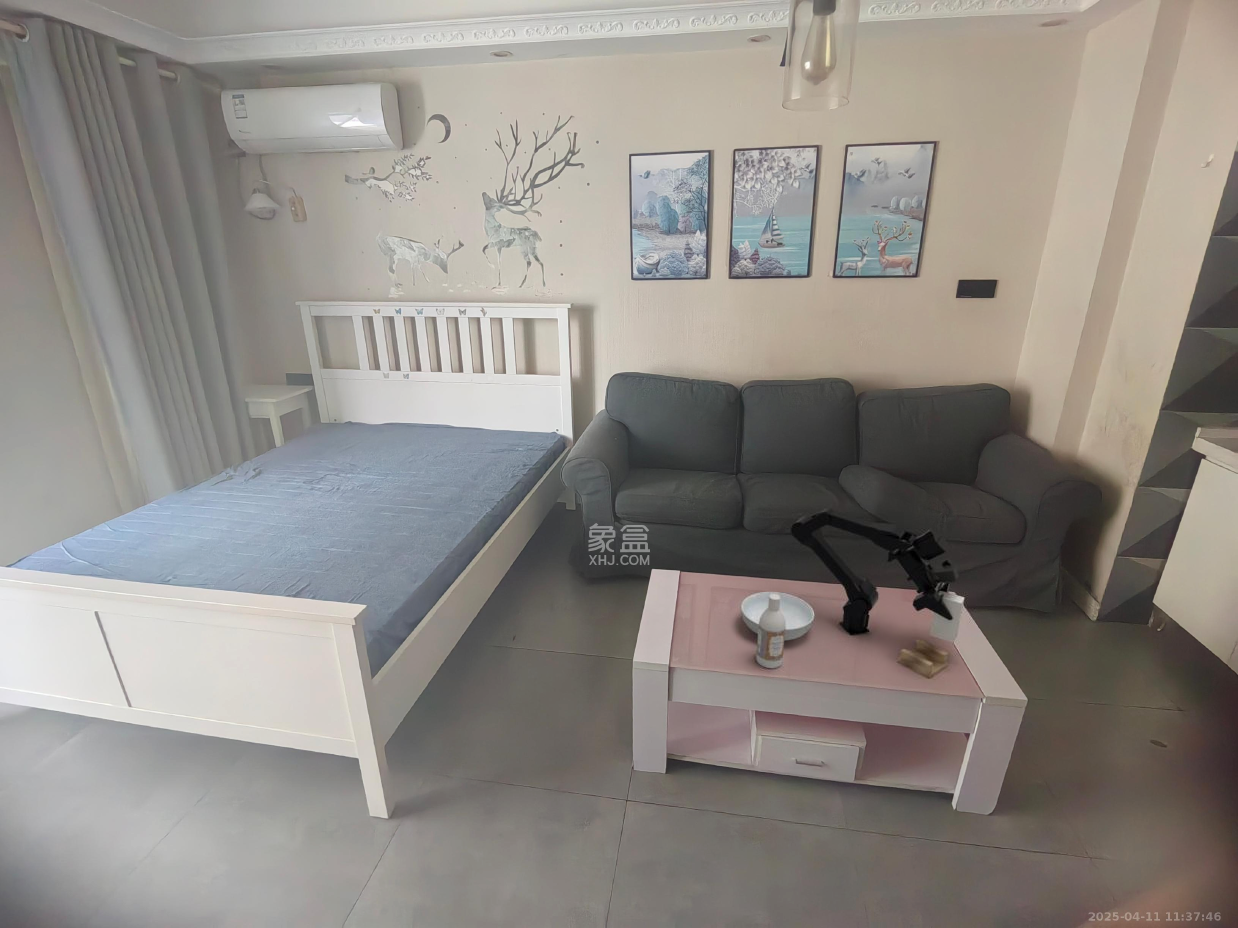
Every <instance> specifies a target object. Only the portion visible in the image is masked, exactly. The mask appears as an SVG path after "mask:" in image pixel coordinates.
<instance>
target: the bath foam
mask: <svg viewBox="0 0 1238 928" xmlns="http://www.w3.org/2000/svg"><path fill="white" fill-rule="evenodd" d="M779 608H780V596H779V595H777V594H771V595H769V603H768V608H767V609H766V610H765V611H764V612H763V614H762V615H761V617H760V621H759V630H758V634H757V643H756V657H755V658H756V662H757V663H758V664H759V666H760V665H761V666H762V667H764V668H767V669H776V668H779V667H781V665H782V664H783V658H784V649H785V641H786V640H785V629H786V622H785V618H784V616H783V614H782V612H781V611H780V609H779Z"/></svg>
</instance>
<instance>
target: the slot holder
mask: <svg viewBox="0 0 1238 928" xmlns="http://www.w3.org/2000/svg"><path fill="white" fill-rule="evenodd" d="M948 654H949V653H948V652H946V651H945V650H942V649H940V648H938V647H936V646H934V645H932V644H930V643H928V642H926V641H924V640H922V639H917V640H916V641H915V647H914V648H912V650H908V649H907V648H903V649H900V655H899V658H897V661H896V662H898V663H899V664H901V665H902V666H905V667H907V668H908V669H910V670H912V671H914V672H916V673H918V674H919V675H921V676H924V677H925V678H926V679H931V678H932V677H934V676H935V675H937V674H938V673H940V672H941V671H943V670H944V669H946V668H947V667H948V666H949V663H947V661H948V656H949V655H948Z"/></svg>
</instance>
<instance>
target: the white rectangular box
mask: <svg viewBox="0 0 1238 928" xmlns="http://www.w3.org/2000/svg"><path fill="white" fill-rule="evenodd" d="M942 594H944V598H943V602H944V604H945V605H946V607H947V609H948V610H949V612H950V614H951V615H952V617H953V619H952V620H947V619H946V618H944V617H942V616H940V615H939V614H937V613H935V612H933V615H932V621H931V626H930V631H929V636H931V637H935V638H938V639H941V640H944V641H946V642H950V643H953V644H954V643H955V642H956V640H957V636H958V631H959V627H960V622H961V617H962V613H963V612H962V611H963V608H964V602H965V597H964V596H960V595H956V594H953V593H950V592H948V593H947V592H943V591H939V595H942Z"/></svg>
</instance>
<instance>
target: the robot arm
mask: <svg viewBox="0 0 1238 928" xmlns="http://www.w3.org/2000/svg"><path fill="white" fill-rule="evenodd" d="M826 526H830V527H833V528H834V529H835V528H836V529H837V530H842V531H845V532H848V533H850V534H854V535H856V536H859V537H862V538H866V539H867V540H869V541H871V542H872V543H873V544H874V545H875V546H876V547H877V546H878V547H879V548H881V549H883V550H885V551H888V554H887V555H888V557H887V560H886V561H887V562H888V563H891V562H892V561H896V562H897V563H898V565H899V566H900V567H901V568H902V570H903V572H905V574H906V575H907V576H906V579H907V581H908V582H909V581H910V582H911V581H912V583H913V585H915V587H916V588H917V589H916V593H917V594H916V595H915V598H914V599H913V601H912V606H913V608H914V609H915V610H916V612H919V611H922V610H925V609H927V610H929V611H932V612H933V613H934V612H935V613H937V614H939V615H940V616H942V617H944V618H946V619H947V620H952V619H953V617H952V615H951V614H950V612H949V610H948V609H947V607H946V605H945V604H944V602H943V598H944V594H942V595H939V591H943V592H947V593H949V589H950V585H951V583H955V582H957V580H958V578H959V577H960V575H959V573H958V568H959V567H958V566H957V565H956V563H954V562H952V560H951V559H950V558H949V559H943V561H942V563H941V565H938V566H934V565H932V563H930V562H927V563H926V562H925V560H926V561H930V560H932V559H935V558H937V557H940V556H941V555H944V554H946V553H947V552H949V550H950V547H949V545H948V542H947V540H946V539H945V538H944V536H943V535H941V534H939V533H938V532H936V531H934V529H933V528H930V529H928V530H927V531H926V532H924V533H922V534H921V535H918V534H916V533H912V532H910V531H907V530H905V529H904V528H903V527H902V526H900V525H899V524H893V523H892V524H891V523H888V522H887V523H885V522H884V523H883V522H882V523H881V522H880V523H876V522H871V521H868V520H865V519H862V518H858V517H855V516H852V515H849V514H846V513H843V512H840V511H837V510H834V509H833V508H830V507H827V508H825V509H823V510H822V511H819V512H817V513H815V514H813V515H811V516H809V515H805V516H802V517H801V518H799V519H798V520H796V521H795V522H794V523H793V524H792V525H791V528H790V533H791V536H792V537H793V538H794V539H795V540H796V541H798V542H799V544H801V545H802V546H803V547H806V548H809V549H810V550H812V551H813V554H814V555H816V556H817V558H818V559H819V560H821V562H822V563H823V565H824V566H825V567H826V568H827V569H828V571H830V572H831V574H832V575H833V577H835V578H836V580H837V582H839V583H840V585H841V586H842V587H843V589H844V591H845V593H846V596H847V601H846V602H845V603H844V605H843V606H842V611H843V614H842V615H843V617H842V621H839V622H838V625H839V626H840V627H842V629H843V630H845V632H847V633H848V634H849V635H850V636H854V635H857V636H858V635H862V634H869V633H870V632H871V630H870V629H869V622H870V621H869V620H870V611H872V609H873V608H874V607H875V605H876V604H877V603H878V600H879V592H878V590H877V589H878V587H876V586H874V585H873V583H872V582H871V580H870V579H869V578H868V577H866V578H865V579H862V578H860V577H858V576H857V575H856V574H855V573H854V572H853V571H852V569H851V568H850V567H849V566H848V565H847V564H846V563H845V561H844V560H843V559H842V558H841V557H840V556H839V555H838V553H837V552H836V551H835V550H834V549H833V548H832V546H831V545H830V544H829V543H828V542H827V540H826V539H825V538H824V535H823V532H822V529H821V528H824V527H826Z"/></svg>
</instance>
